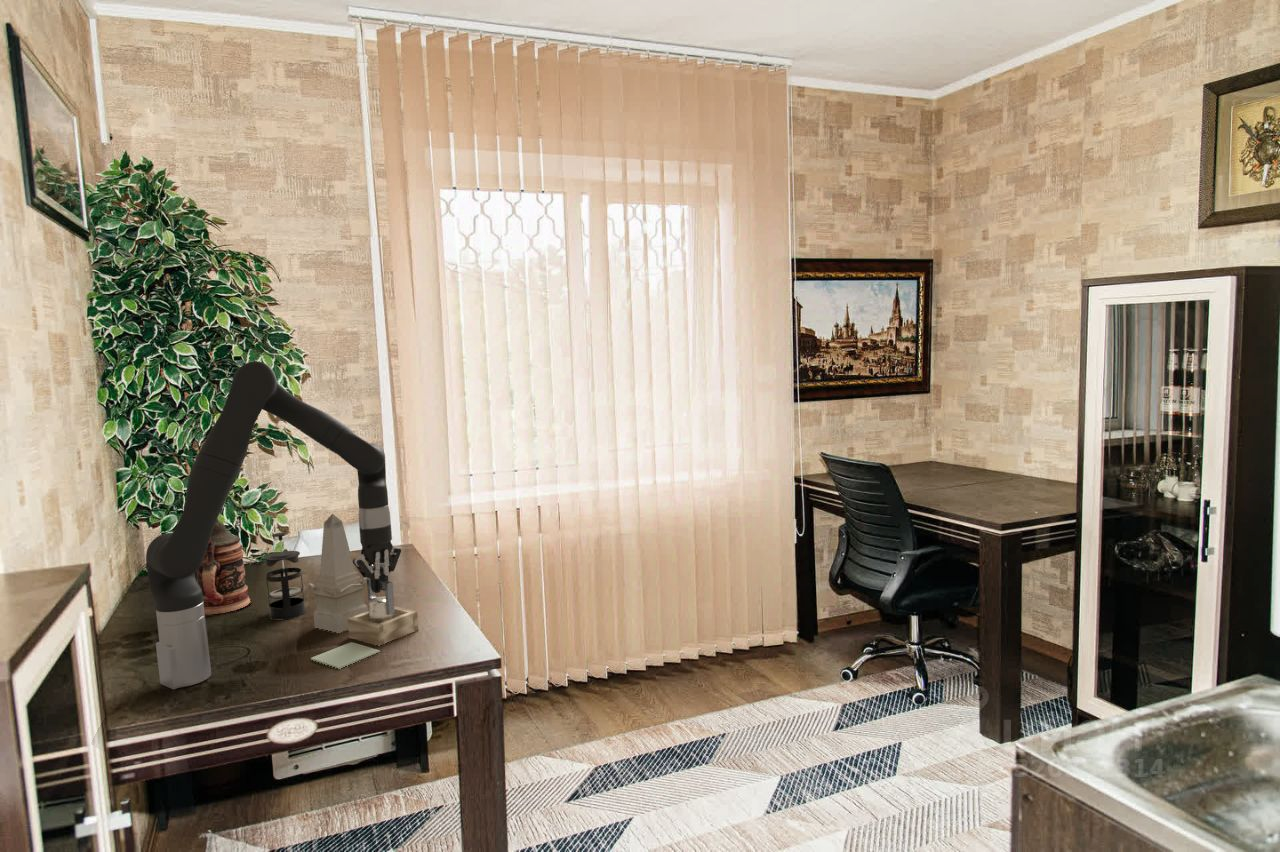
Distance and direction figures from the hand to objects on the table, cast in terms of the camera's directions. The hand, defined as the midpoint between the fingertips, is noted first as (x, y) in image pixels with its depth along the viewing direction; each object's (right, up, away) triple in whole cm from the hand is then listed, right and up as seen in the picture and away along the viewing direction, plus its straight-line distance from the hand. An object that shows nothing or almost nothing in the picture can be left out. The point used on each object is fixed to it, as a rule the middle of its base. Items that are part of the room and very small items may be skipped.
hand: (380, 591), depth 199 cm
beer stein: (-55, -11, +27) cm, 62 cm away
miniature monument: (-13, -11, +10) cm, 20 cm away
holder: (+1, -11, +1) cm, 11 cm away
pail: (0, -10, +1) cm, 10 cm away
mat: (-4, -13, -12) cm, 18 cm away
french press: (-32, -11, +20) cm, 40 cm away
